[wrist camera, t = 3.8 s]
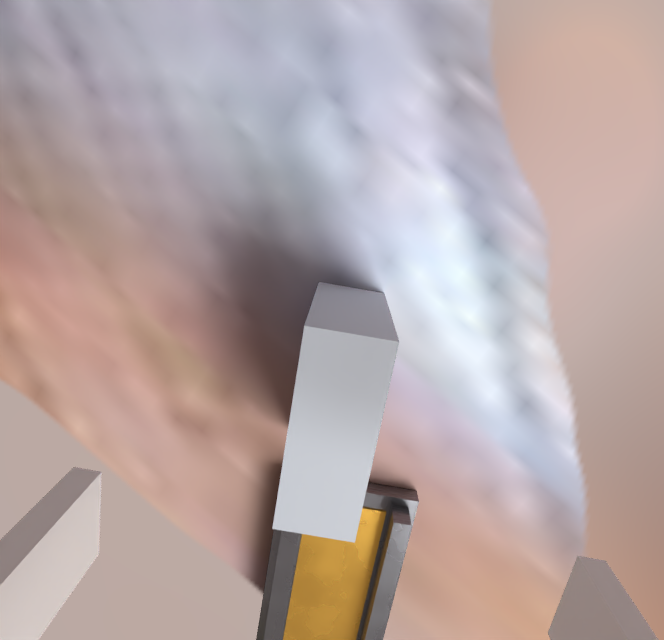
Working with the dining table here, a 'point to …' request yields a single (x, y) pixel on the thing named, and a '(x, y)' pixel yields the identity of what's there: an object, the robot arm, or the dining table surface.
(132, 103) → the dining table surface
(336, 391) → the white rectangular block
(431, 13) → the dining table surface
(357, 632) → the grey rectangular tray
